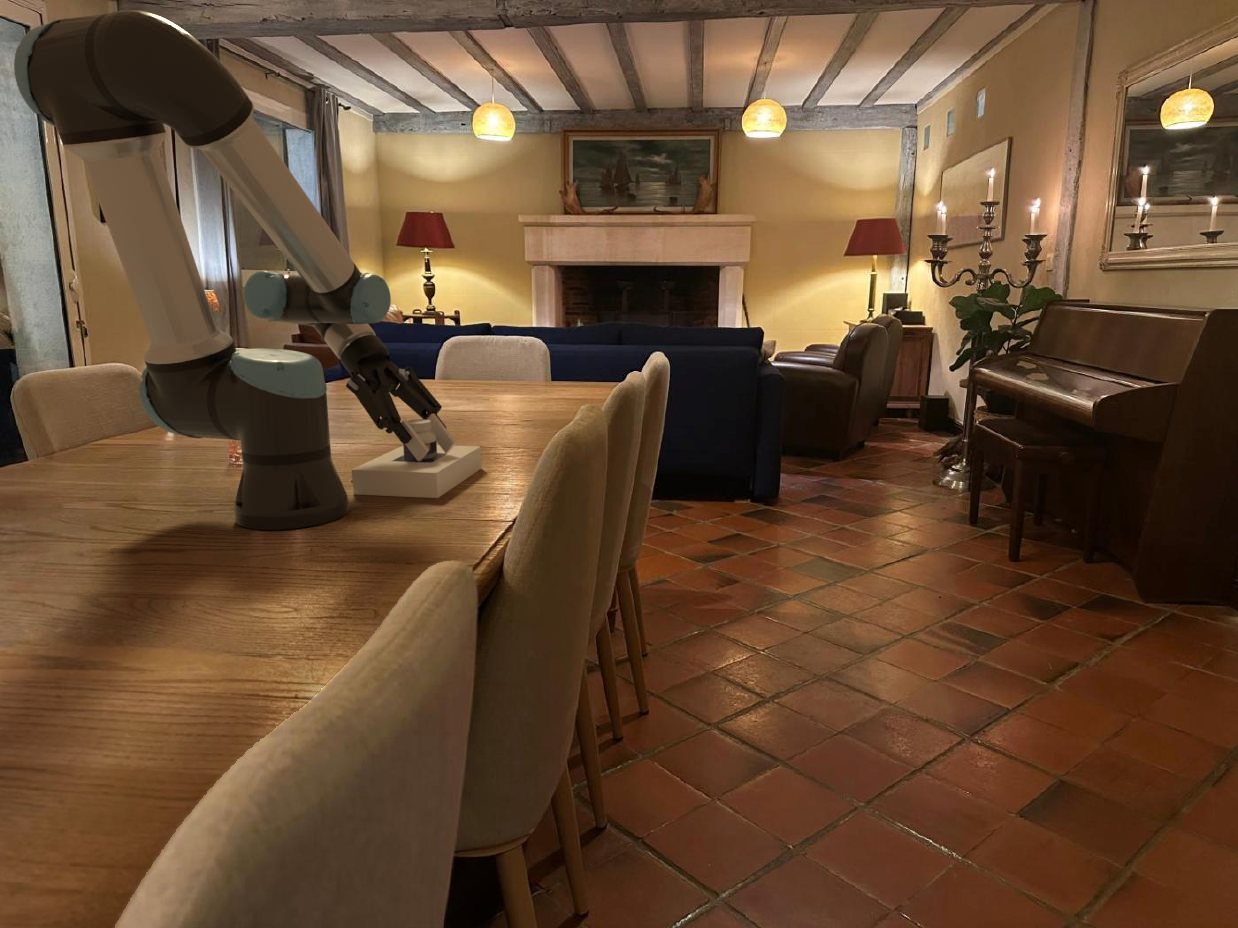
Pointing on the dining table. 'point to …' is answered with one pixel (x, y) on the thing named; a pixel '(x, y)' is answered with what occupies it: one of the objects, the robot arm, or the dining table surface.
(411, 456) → the pill bottle
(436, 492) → the socket block
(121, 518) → the dining table surface
